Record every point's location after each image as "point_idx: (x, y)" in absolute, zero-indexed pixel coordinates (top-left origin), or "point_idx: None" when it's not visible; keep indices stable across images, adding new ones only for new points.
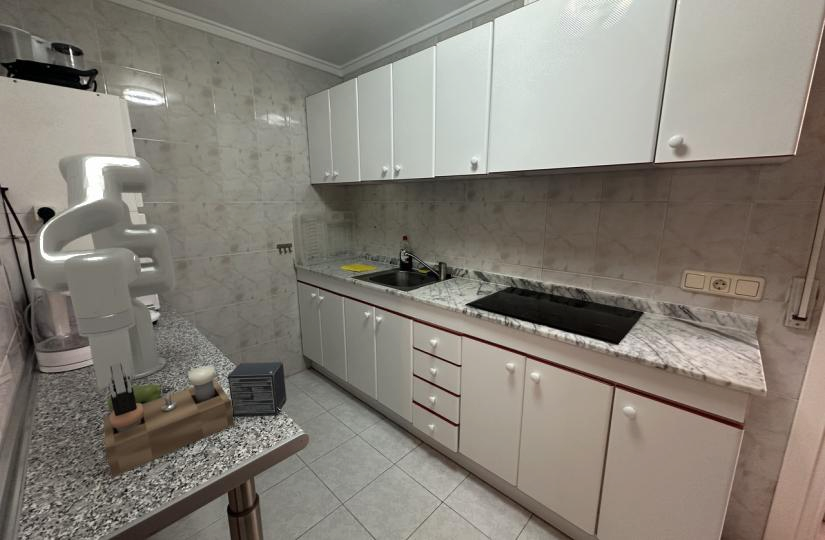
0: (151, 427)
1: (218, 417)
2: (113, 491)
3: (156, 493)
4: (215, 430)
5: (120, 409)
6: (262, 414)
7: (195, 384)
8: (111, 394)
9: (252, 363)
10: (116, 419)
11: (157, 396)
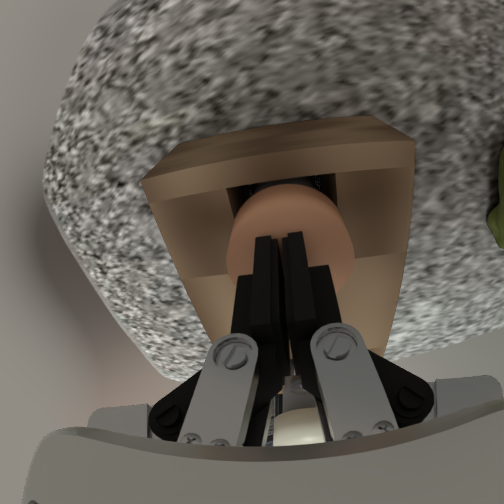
0: (206, 286)
1: None
2: (127, 159)
3: (95, 235)
4: None
5: (239, 282)
6: None
7: (282, 415)
8: (305, 323)
9: None
10: (232, 236)
11: (493, 231)
